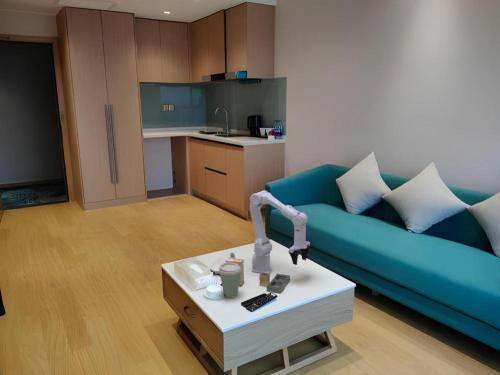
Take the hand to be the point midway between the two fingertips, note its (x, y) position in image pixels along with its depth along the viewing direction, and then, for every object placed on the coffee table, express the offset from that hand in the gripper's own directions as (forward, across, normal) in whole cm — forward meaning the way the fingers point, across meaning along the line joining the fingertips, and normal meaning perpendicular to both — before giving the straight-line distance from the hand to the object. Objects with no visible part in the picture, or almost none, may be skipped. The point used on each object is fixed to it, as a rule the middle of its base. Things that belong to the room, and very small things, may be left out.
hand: (299, 262), depth 198 cm
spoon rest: (+10, -16, +40) cm, 45 cm away
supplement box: (+10, -26, +21) cm, 35 cm away
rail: (+10, -12, +4) cm, 16 cm away
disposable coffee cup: (+10, -36, +14) cm, 39 cm away
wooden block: (+10, -16, +9) cm, 21 cm away
